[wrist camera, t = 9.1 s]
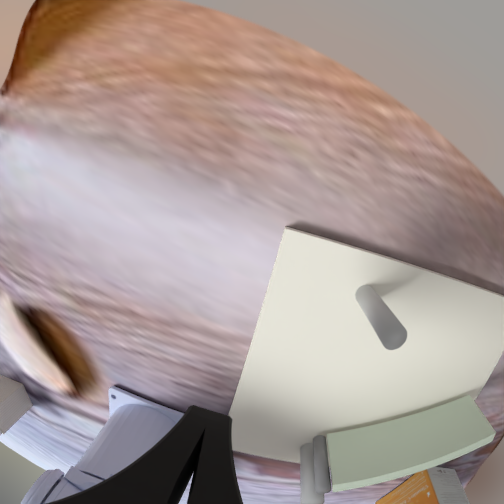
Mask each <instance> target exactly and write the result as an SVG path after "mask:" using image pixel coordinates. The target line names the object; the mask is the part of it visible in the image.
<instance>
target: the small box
mask: <svg viewBox="0 0 504 504" xmlns="http://www.w3.org/2000/svg"><path fill="white" fill-rule="evenodd" d="M375 504H470V503H469V501H468V498H467V496H466V494H465V491H464V489H463V487H462V485H461V482H460V480H459V478H458V476H457V473H456V471H455V469H449V468H442V467H436V466H435V467H432V468H429V469H426V470H423V471H420V472H417V473H415V474H414V475H413V476H412V477H410V478H409V479H408V480H406V481H405V482H404V483H402V484H401V485H400V486H398V487H397V488H396V489H394V490H393V491H392V492H390V493H389V494H387V495H386V496H384V497H383V498H381V499H379V500H378V501H376V502H375Z"/></svg>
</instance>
